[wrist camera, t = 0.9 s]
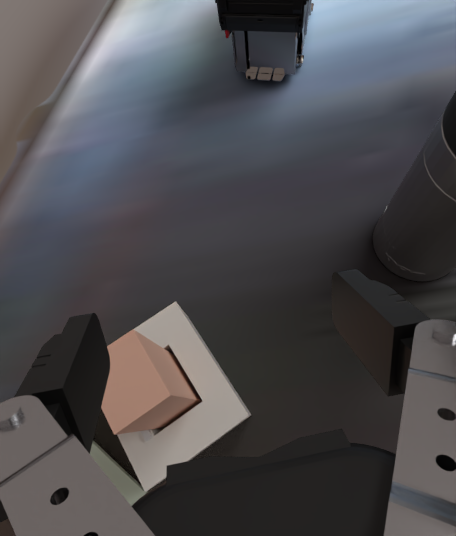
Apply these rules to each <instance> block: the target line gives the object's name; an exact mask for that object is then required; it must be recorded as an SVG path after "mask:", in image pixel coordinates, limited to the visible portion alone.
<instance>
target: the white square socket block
mask: <svg viewBox="0 0 456 536" xmlns="http://www.w3.org/2000/svg"><path fill="white" fill-rule="evenodd" d="M134 330H135V331H137V332H138V333H140V334H142V335H143V336H145V337H146V338H148V339H149V340H151V341H153V342H154V343H156V344H157V345H159V346H160V347H162V348H164V349H165V350H167V351H168V352H170V353H172V354H173V355H175V356H176V357H177V359H178V361H179V362H180V364H181V366H182V367H183V369H184V371H185V372H186V374H187V376H188V377H189V379H190V381H191V382H192V384H193V386H194V387H195V389H196V391H197V392H198V394H199V396H200V397H201V399H202V402H201V403H200V404H198V405H197V406H195V407H194V408H193V409H191V410H190V411H188V412H187V413H186V414H184V415H183V416H181V417H180V418H179V419H177V420H176V421H174V422H173V423H172V424H170V425H169V426H167V427H163V428H156V429H150V430H143V431H137V432H130V433H123V434H117V436H118V438H119V440H120V442H121V444H122V446H123V448H124V450H125V452H126V454H127V456H128V458H129V460H130V462H131V464H132V466H133V469H134V471H135V473H136V475H137V477H138V479H139V481H140V483H141V485H142V487H143V489H144V491H145V492H146V491H148V490H149V489H151V488H152V487H154V486H155V485H157V484H158V483H160V482H161V481H163V480H164V479H166V469H167V465H172V464H177V463H182V462H186V461H190V460H191V459H193V458H194V457H195V456H197V455H198V454H199V453H201V452H202V451H204V450H205V449H206V448H208V447H209V446H210V445H212V444H213V443H214V442H216V441H217V440H218V439H220V438H221V437H222V436H224V435H225V434H227V433H228V432H229V431H231V430H232V429H233V428H235V427H236V426H237V425H239V424H240V423H241V422H243V421H244V420H245V419H247V418H248V417H250V416H251V413H250V412H249V410H248V409H247V407H246V406H245V404H244V403H243V401H242V399H241V398H240V396H239V395H238V393H237V392H236V390H235V389H234V387H233V386H232V384H231V382H230V381H229V379H228V378H227V376H226V375H225V373H224V372H223V370H222V369H221V367H220V365H219V364H218V362H217V361H216V359H215V358H214V356H213V355H212V353H211V352H210V350H209V348H208V347H207V345H206V344H205V342H204V341H203V339H202V338H201V336H200V335H199V333H198V331H197V330H196V328H195V327H194V325H193V324H192V322H191V321H190V319H189V318H188V316H187V315H186V314H185V312H184V311H183V310H182V309H181V307H180V306H179V305H178V304H177V302H174V303H173V304H171V305H170V306H168V307H166V308H165V309H163V310H162V311H160V312H159V313H157V314H156V315H154V316H153V317H151V318H150V319H148V320H147V321H145V322H144V323H142V324H141V325H139V326H138V327H136V328H135V329H134Z"/></svg>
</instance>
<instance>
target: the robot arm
mask: <svg viewBox="0 0 456 536" xmlns="http://www.w3.org/2000/svg"><path fill="white" fill-rule="evenodd" d="M373 246H374V249H375V252H376V254H377V256H378V258H379V259H380V261H381V262H382V263H383V264H384V265H385V266H386V267H387V268H388V269H389V270H390V271H392V272H393V273H395V274H396V275H398V276H401V277H403V278H405V279H409V280H413V281H432V280H436V279H438V278H441V277H443V276H445V275H446V274H448V273H449V272H451V271H452V270H453V269H455V268H456V92H455V93H454V95H453V97H452V98H451V100H450V102H449V103H448V105H447V107H446V108H445V110H444V112H443V113H442V115H441V117H440V119H439V120H438V122H437V124H436V125H435V127H434V129H433V130H432V132H431V134H430V135H429V137H428V139H427V141H426V142H425V144H424V146H423V147H422V149H421V151H420V152H419V154H418V156H417V157H416V159H415V161H414V162H413V164H412V166H411V167H410V169H409V171H408V172H407V174H406V176H405V178H404V179H403V181H402V183H401V184H400V186H399V188H398V189H397V191H396V193H395V194H394V196H393V198H392V199H391V201H390V203H389V204H388V206H387V207H386V209H385V211H384V212H383V214H382V216H381V218H380V219H379V221H378V223H377V224H376V226H375V229H374V232H373ZM332 318H333V322H334V325H335V327H336V329H337V331H338V332H339V333H340V334H341V336H342V337H343V338H344V340H345V341H346V342H347V344H348V345H349V346H350V347H351V349H352V350H353V351H354V353H355V354H356V355H357V357H358V358H359V359H360V361H361V362H362V363H363V364H364V366H365V367H366V368H367V370H368V371H369V372H370V374H371V375H372V376H373V377H374V379H375V380H376V381H377V383H378V384H379V385H380V387H381V388H382V389H383V390H384V392H385V393H386V394H387V396H393V395H398V394H403V393H404V394H405V397H404V404H403V411H402V417H401V424H400V431H399V438H398V445H397V452H396V454H393V453H391V452H389V451H386V450H383V449H380V448H377V447H373V446H369V445H364V444H357V443H349V441H348V439H347V437H346V436H345V434H344V432H343V430H342V429H339V430H334V431H330V432H325V433H320V434H315V435H310V436H306V437H301V438H298V439H296V440H294V441H292V442H290V443H288V444H286V445H284V446H282V447H280V448H278V449H276V450H273V451H271V452H269V453H267V454H265V455H263V456H260V457H218V456H210V457H205V458H201V459H196V460H191V461H186V462H182V463H177V464H172V465H167V469H166V482H164V483H162V484H160V485H159V486H157V487H155V488H154V489H152V490H150V491H149V492H147V493H146V494H145V495H144V496H142V497H141V498H140V499H138V500H137V501H136V502H135V503H134V504H133V505H132V506H131V505H130V504H129V503H128V501H127V500H126V499H125V498H124V496H123V495H122V494H121V493H120V491H119V490H118V489H117V488H116V486H115V485H114V484H113V483H112V481H111V480H110V479H109V478H108V476H107V475H106V474H105V473H104V471H103V470H102V469H101V468H100V466H99V465H98V464H97V463H96V461H95V460H94V459H93V458H92V456H91V455H90V451H91V447H92V442H93V438H94V434H95V430H96V426H97V422H98V418H99V414H100V409H101V405H102V401H103V397H104V393H105V389H106V385H107V380H108V376H109V372H110V357H109V352H108V349H107V345H106V342H105V339H104V336H103V332H102V329H101V326H100V323H99V320H98V317H97V315H96V314H95V313H91V314H85V315H79V316H74V317H70V318H69V320H68V322H67V324H66V326H65V328H64V330H63V332H62V334H57V335H54V336H53V337H52V338H51V339H50V340H49V341H48V342H47V343H45V344H44V345H43V347H42V348H41V350H40V352H39V354H38V356H37V359H35V361H34V363H33V364H32V368H31V369H30V370H29V372H28V373H27V375H26V377H25V379H24V381H23V382H22V384H21V386H20V388H19V390H18V391H17V393H16V395H15V397H14V398H12V399H9V400H7V401H4V402H3V403H1V404H0V522H2V521H4V520H6V519H8V518H9V520H10V523H11V525H12V527H13V529H14V532H15V534H16V536H456V323H455V322H452V321H447V320H437V319H434V320H431V319H430V318H428V317H427V316H426V315H425V314H423V313H422V312H421V311H419V310H418V309H417V308H416V307H414V306H413V305H412V304H411V303H409V302H408V301H406V299H404V298H403V297H402V296H400V295H398V293H397V292H395V291H394V290H393V289H392V288H390V287H389V286H388V285H385V284H383V283H380V282H378V281H375V280H369V279H368V278H367V277H366V276H365V275H363V274H362V273H361V272H360V271H359V270H357V269H352V270H347V271H341V272H335V273H334V274H333V276H332Z"/></svg>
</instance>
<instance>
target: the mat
mask: <svg viewBox="0 0 456 536" xmlns="http://www.w3.org/2000/svg"><path fill="white" fill-rule="evenodd" d="M90 455H91V456H92V458H93V459H94V460H95V461H96V463H97V464H98V465H99V466H100V468H101V469H102V470H103V471H104V473H105V474H106V475H107V476H108V478H109V479H110V480H111V481H112V483H113V484H114V485H115V486H116V488H117V489H118V490H119V491H120V493H121V494H122V495H123V496H124V498H125V499H126V500H127V501H128V503H129V504H130V505H131V506H132V505H133V504H134V503H135V502H136V501H137V500H138V499H140V498H141V497H142V496H144V495H145V494H146V493H147V491H146V492H145V491H144V489H143V487H142V486H141V485H140V484H139V483H138V482H137V481H136V480H135V479H134V478H133V477H132V476H131V475H129V474H128V473H127V472H126V471H125V470H124V469H123V468H122V467H121V466H120V465H119V464H118V463H117V462H116V461H115V460H114V459H112V458H111V457H110V456H109V455H108V454H107V453H106V452H105V451H104V450H103V449H102V448H101V447H100V446H99V445H98V444H97V443H96V442H94V441H93V442H92V447H91V451H90Z"/></svg>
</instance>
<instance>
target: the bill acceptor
mask: <svg viewBox="0 0 456 536" xmlns="http://www.w3.org/2000/svg"><path fill="white" fill-rule="evenodd" d="M311 1H312V0H215V3H217V8H218V15H219V23H220V26H221V29H222V30H225V34H226V38H229V35H230V33H231V32H232V41H233V50H234V60H235V67H236V70H237V71H240V72H246V79H248V80H255V79H256V75H257V73H258V77H257V80H264V81H270V80H271V76H272V74H273V78H272V80H273V81H282V79H283V77H284V76H285V74H287V75H288V74H295V71H296V66H297V64H299V67H301V64H303V58H304V55H302V52H303V46H304V41H305V36H306V34H307V26H308V20H309V15H311V11H313V5H314V4H313V3H311ZM261 73H269V74H261Z"/></svg>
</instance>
